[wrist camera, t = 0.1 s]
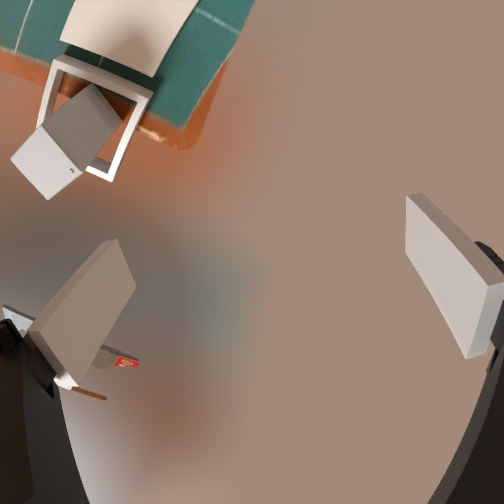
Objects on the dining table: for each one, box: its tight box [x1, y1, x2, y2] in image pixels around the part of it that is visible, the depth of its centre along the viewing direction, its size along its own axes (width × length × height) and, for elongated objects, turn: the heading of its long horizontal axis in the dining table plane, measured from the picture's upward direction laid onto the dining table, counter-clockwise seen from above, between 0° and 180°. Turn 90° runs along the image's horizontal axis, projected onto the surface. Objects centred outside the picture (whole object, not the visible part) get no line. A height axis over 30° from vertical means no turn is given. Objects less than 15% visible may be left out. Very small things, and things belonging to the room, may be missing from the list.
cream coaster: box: [60, 0, 199, 77], centre depth 25 cm, size 14×14×1 cm
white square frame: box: [36, 54, 154, 182], centre depth 35 cm, size 14×14×2 cm
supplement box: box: [11, 83, 123, 200], centre depth 31 cm, size 7×7×13 cm
